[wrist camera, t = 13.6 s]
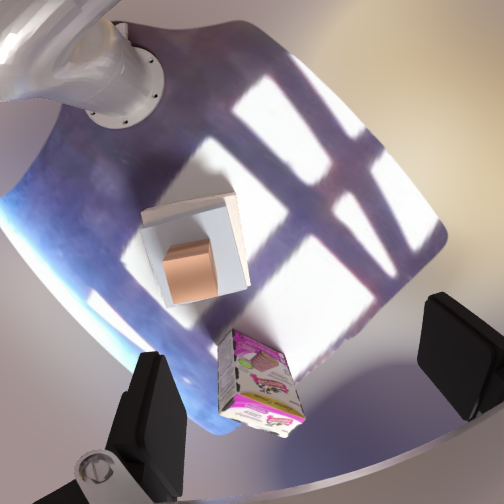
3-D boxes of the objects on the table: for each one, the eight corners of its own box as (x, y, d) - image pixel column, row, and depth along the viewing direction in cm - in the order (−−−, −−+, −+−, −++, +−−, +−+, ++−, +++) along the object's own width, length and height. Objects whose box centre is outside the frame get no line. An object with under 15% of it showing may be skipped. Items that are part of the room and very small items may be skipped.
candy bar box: (286, 352, 53) (308, 419, 37) (269, 372, 54) (286, 440, 38) (231, 325, 50) (238, 393, 35) (215, 346, 51) (216, 416, 36)
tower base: (147, 207, 44) (140, 212, 40) (234, 191, 45) (236, 194, 41) (166, 288, 48) (162, 300, 44) (248, 275, 49) (250, 285, 45)
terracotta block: (170, 245, 38) (162, 261, 32) (209, 238, 38) (208, 253, 32) (179, 283, 39) (173, 304, 34) (217, 276, 40) (217, 296, 34)
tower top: (146, 222, 41) (139, 229, 37) (225, 201, 41) (226, 206, 37) (170, 295, 44) (166, 308, 40) (244, 277, 44) (247, 289, 40)
